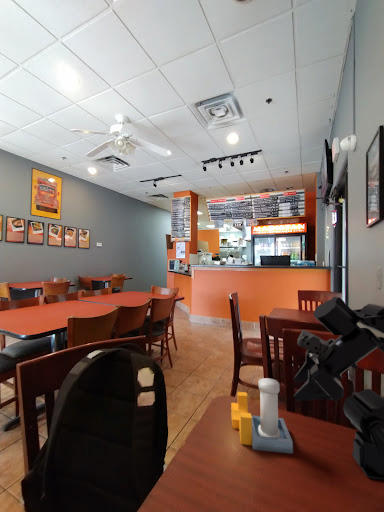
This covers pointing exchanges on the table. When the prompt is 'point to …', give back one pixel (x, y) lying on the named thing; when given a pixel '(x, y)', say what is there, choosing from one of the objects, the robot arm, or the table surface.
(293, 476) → the table surface
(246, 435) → the pipe clamp
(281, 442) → the blue-grey square tray
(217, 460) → the table surface
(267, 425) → the white domed pillar
